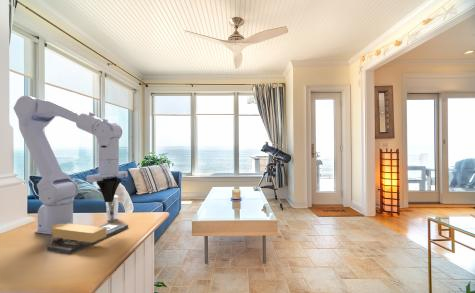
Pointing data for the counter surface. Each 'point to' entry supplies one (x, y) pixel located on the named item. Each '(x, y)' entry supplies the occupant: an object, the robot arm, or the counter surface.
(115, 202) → the milkshake
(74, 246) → the panel
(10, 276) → the counter surface
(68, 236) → the light wooden plank
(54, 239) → the pivot plinth
